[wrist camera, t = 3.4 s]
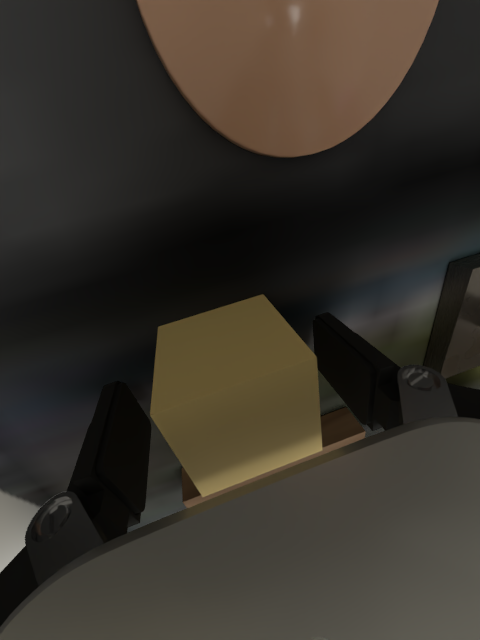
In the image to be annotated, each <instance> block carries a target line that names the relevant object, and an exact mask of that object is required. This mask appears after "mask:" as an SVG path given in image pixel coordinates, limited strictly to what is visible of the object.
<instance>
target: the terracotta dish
mask: <svg viewBox="0 0 480 640" xmlns="http://www.w3.org/2000/svg"><path fill="white" fill-rule="evenodd" d="M438 1H439V0H136V2H137V5H138V8H139V12H140V15H141V18H142V21H143V23H144V25H145V28H146V30H147V32H148V35H149V37H150V39H151V42H152V44H153V46H154V49H155V51H156V53H157V55H158V57H159V58H160V60H161V62H162V64H163V66H164V68H165V70H166V71H167V73H168V75H169V77H170V78H171V80H172V81H173V83H174V84H175V86H176V87H177V89H178V90H179V92H180V93H181V95H182V96H183V98H184V99H185V100H186V101H187V102H188V104H189V105H190V106H191V107H192V108H193V110H194V111H195V112H196V113H197V114H198V116H199V117H200V118H202V119H203V120H204V121H205V122H206V123H207V124H208V125H209V126H210V127H211V128H212V129H213V130H214V131H216V132H217V133H218V134H220V135H221V136H223V137H224V138H225V139H227V140H228V141H229V142H231V143H233V144H235V145H237V146H239V147H241V148H243V149H245V150H247V151H250V152H253V153H256V154H259V155H263V156H269V157H274V158H293V157H299V156H305V155H310V154H314V153H317V152H320V151H323V150H326V149H329V148H331V147H333V146H335V145H337V144H339V143H341V142H343V141H345V140H346V139H348V138H349V137H350V136H352V135H353V134H355V133H356V132H358V131H359V130H360V129H361V128H362V127H363V126H365V125H366V124H367V123H368V122H369V121H370V120H371V119H372V118H373V117H374V116H375V115H376V114H377V113H378V112H379V111H380V109H381V108H382V107H383V106H384V105H385V104H386V103H387V101H388V100H389V99H390V97H391V96H392V95H393V93H394V92H395V90H396V89H397V88H398V86H399V85H400V83H401V82H402V80H403V78H404V77H405V75H406V73H407V72H408V70H409V68H410V67H411V65H412V63H413V61H414V59H415V57H416V55H417V53H418V51H419V49H420V47H421V45H422V43H423V41H424V38H425V36H426V34H427V31H428V29H429V26H430V24H431V21H432V19H433V16H434V14H435V10H436V7H437V4H438Z"/></svg>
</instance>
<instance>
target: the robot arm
mask: <svg viewBox="0 0 480 640" xmlns="http://www.w3.org/2000/svg"><path fill="white" fill-rule="evenodd" d="M313 336H314V351H315V356H316V357H317V368H318V370H319V371H320V372H321V373H322V375H323V376H324V377H325V378H326V380H327V381H328V382H329V383H330V385H331V386H332V387H333V388H334V390H335V391H336V392H337V393H338V394H339V396H340V397H341V398H342V399H343V401H344V402H345V403H346V404H347V406H348V407H349V408H350V409H351V411H352V412H353V413H354V414H355V415H356V417H357V418H358V419H359V420H360V422H361V423H362V424H364V425H366V424H367V425H368V426H369V427H370V429H371V430H372V431H374V430H377V429H379V428H382V427H383V428H384V430H385V431H383V432H381V433H378V434H375V435H373V436H370V437H367V438H364V439H362V440H359V441H356V442H354V443H351V444H349V445H346V446H344V447H341V448H338V449H336V450H333V451H331V452H328V453H326V454H323V455H320V456H318V457H315V458H313V459H310V460H308V461H305V462H302V463H300V464H297V465H295V466H292V467H290V468H287V469H285V470H282V471H280V472H277V473H275V474H272V475H270V476H267V477H264V478H262V479H259V480H257V481H254V482H252V483H249V484H247V485H244V486H242V487H239V488H237V489H234V490H232V491H229V492H227V493H224V494H222V495H219V496H217V497H214V498H212V499H209V500H207V501H204V502H202V503H199V504H197V505H194V506H192V507H189V508H187V509H184V510H182V511H179V512H177V513H174V514H172V515H169V516H167V517H164V518H162V519H160V520H157V521H155V522H152V523H150V524H148V525H145V526H143V527H141V528H138V529H136V530H133V531H131V532H129V533H127V528H128V527H130V526H133V525H135V524H138V523H140V515H141V512H143V511H144V509H145V502H146V489H147V476H148V463H149V451H150V438H151V423H150V420H149V419H148V417H147V416H146V414H145V413H144V411H143V410H142V408H141V406H140V405H139V403H138V402H137V400H136V399H135V397H134V396H133V394H132V393H131V391H130V389H129V388H128V386H127V385H126V384H125V383H121V382H119V381H117V382H114V383H111V384H107V385H105V386H104V387H103V389H102V392H101V395H100V398H99V401H98V404H97V407H96V410H95V413H94V416H93V419H92V422H91V424H90V426H89V428H88V431H87V434H86V436H85V439H84V442H83V445H82V448H81V451H80V454H79V457H78V460H77V463H76V466H75V469H74V472H73V475H72V478H71V481H70V484H69V487H68V489H67V491H66V492H62V493H59V494H57V495H56V496H54V497H52V498H51V499H50V500H48V501H47V502H46V503H45V504H44V505H43V506H42V507H41V508H40V509H39V510H38V511H37V513H36V514H35V516H34V517H33V518H32V520H31V522H30V524H29V526H28V528H27V531H26V535H25V544H26V546H25V547H24V548H23V549H22V550H21V551H20V552H19V553H18V555H17V556H16V557H15V558H14V559H13V560H12V561H11V562H10V563H9V564H8V565H7V566H6V567H5V568H4V570H3V571H2V572H1V573H0V640H480V390H478V389H473V388H467V387H462V386H457V385H452V384H447V382H446V380H445V378H444V377H443V376H442V375H441V374H440V373H439V372H437V371H435V370H433V369H431V368H428V367H426V366H421V365H408V366H404V367H402V368H400V367H399V366H397V365H396V364H395V363H394V362H392V361H391V360H390V359H389V358H387V357H386V356H385V355H384V354H382V353H381V352H380V351H378V350H377V349H376V348H375V347H373V346H372V345H371V344H370V343H368V342H367V341H366V340H364V339H363V338H362V337H361V336H359V335H358V334H356V333H354V332H353V331H352V330H350V329H349V328H348V327H347V326H345V325H344V324H343V323H342V322H340V321H339V320H338V319H337V318H335V317H334V316H333V315H332V314H330V313H329V312H327V313H324V314H321V315H318V316H316V318H315V320H313Z"/></svg>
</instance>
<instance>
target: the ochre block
mask: <svg viewBox="0 0 480 640" xmlns="http://www.w3.org/2000/svg"><path fill="white" fill-rule="evenodd" d="M150 416H151V417H152V419H153V421H154V422H155V424H156V425H157V427H158V428H159V430H160V432H161V433H162V435H163V436H164V438H165V439H166V441H167V442H168V444H169V446H170V447H171V449H172V450H173V452H174V453H175V455H176V456H177V458H178V460H179V461H180V463H181V464H182V466H183V467H184V469H185V471H186V472H187V474H188V475H189V477H190V478H191V480H192V481H193V483H194V485H195V486H196V488H197V489H198V491H199V492H200V494H201V495H202V497H205V496H207V495H210V494H213V493H215V492H218V491H220V490H223V489H225V488H228V487H230V486H233V485H235V484H238V483H241V482H243V481H246V480H248V479H251V478H253V477H256V476H258V475H261V474H264V473H266V472H269V471H271V470H274V469H276V468H279V467H281V466H284V465H286V464H289V463H292V462H294V461H297V460H299V459H302V458H304V457H307V456H309V455H312V454H314V453H317V452H320V451H322V434H321V418H320V402H319V385H318V369H317V357H316V356H315V354H314V353H313V352H312V351H311V350H310V348H309V347H308V346H307V345H306V344H305V343H304V341H303V340H302V339H301V338H300V337H299V336H298V334H297V333H296V332H295V331H294V330H293V329H292V327H291V326H290V325H289V324H288V323H287V322H286V320H285V319H284V318H283V317H282V316H281V314H280V313H279V312H278V311H277V310H276V309H275V307H274V306H273V305H272V304H271V303H270V302H269V300H268V299H267V298H266V297H265V296H264V295H263V294H262V295H258V296H255V297H252V298H249V299H246V300H242V301H239V302H236V303H233V304H230V305H226V306H223V307H220V308H217V309H214V310H210V311H207V312H204V313H201V314H197V315H194V316H191V317H188V318H185V319H181V320H178V321H175V322H172V323H169V324H165V325H162V326H159V327H158V333H157V344H156V355H155V366H154V377H153V388H152V399H151V410H150Z"/></svg>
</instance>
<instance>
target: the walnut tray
mask: <svg viewBox="0 0 480 640" xmlns="http://www.w3.org/2000/svg"><path fill="white" fill-rule="evenodd" d="M320 418H321V434H322V451H320V452H317V453H314V454H312V455H309V456H307V457H304V458H302V459H299V460H297V461H294V462H292V463H289V464H286V465H284V466H281V467H279V468H276V469H274V470H271V471H269V472H266V473H264V474H261V475H258V476H256V477H253V478H251V479H248V480H246V481H243V482H241V483H238V484H235V485H233V486H230V487H228V488H225V489H223V490H220V491H218V492H215V493H213V494H210V495H207V496H205V497H202V495H201V494H200V492H199V491H198V489H197V488H196V486H195V485H194V483H193V481H192V480H191V478H190V477H189V475H188V474H187V472H186V471H185V469H184V468H182V491H183V503H184V504H185V506H186V507H187V508H189V507H192V506H194V505H197V504H199V503H202V502H204V501H207V500H209V499H212V498H214V497H217V496H219V495H222V494H224V493H227V492H229V491H232V490H234V489H237V488H239V487H242V486H244V485H247V484H249V483H252V482H254V481H257V480H259V479H262V478H264V477H267V476H270V475H272V474H275V473H277V472H280V471H282V470H285V469H287V468H290V467H292V466H295V465H297V464H300V463H302V462H305V461H308V460H310V459H313V458H315V457H318V456H320V455H323V454H326V453H328V452H331V451H333V450H336V449H338V448H341V447H344V446H346V445H349V444H351V443H354V442H356V441H359V440H362V439H364V438H365V430H364V429H363V428H362V426H361V425H360V424H359V423H358V421H357V420H356V419H355V417H354V416H353V415H352V414H351V412H350V411H349V410H348V409H347V407H345V408H342V409H340V410H337V411H334V412H332V413H329V414H326V415H324V416H321V417H320Z"/></svg>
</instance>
